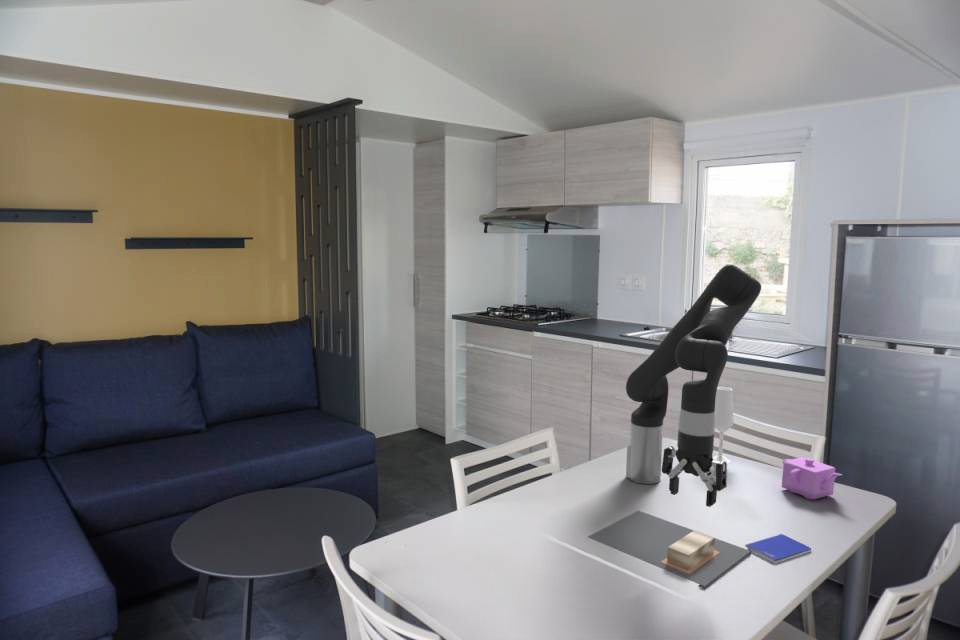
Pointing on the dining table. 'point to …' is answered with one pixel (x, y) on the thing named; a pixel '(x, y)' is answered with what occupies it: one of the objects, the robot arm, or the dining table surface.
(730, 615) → the dining table surface
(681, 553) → the cream block
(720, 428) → the champagne flute
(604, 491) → the dining table surface
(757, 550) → the hard drive
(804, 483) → the teapot
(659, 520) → the rubber mat
